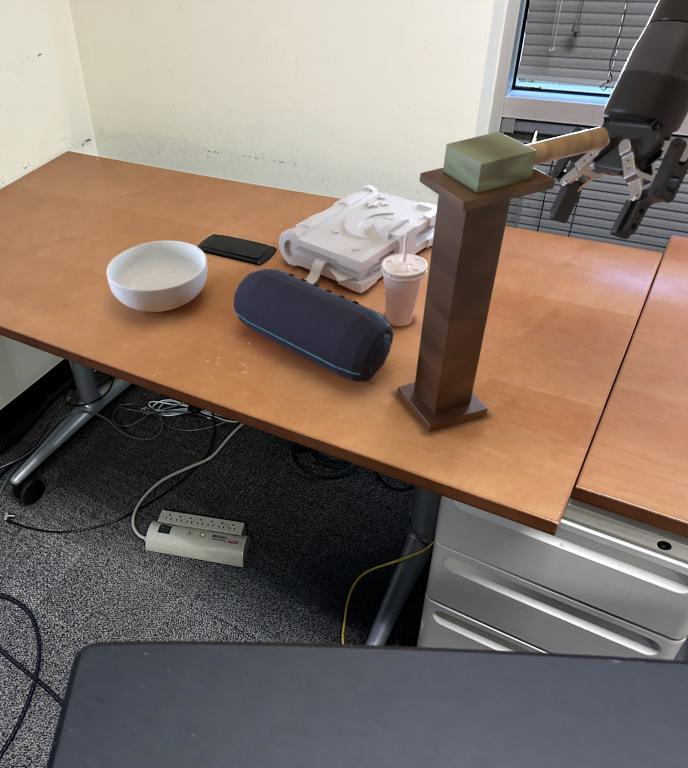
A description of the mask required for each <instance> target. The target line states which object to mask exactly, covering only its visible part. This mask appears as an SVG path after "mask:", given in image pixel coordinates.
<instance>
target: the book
mask: <svg viewBox="0 0 688 768" xmlns="http://www.w3.org/2000/svg"><path fill="white" fill-rule="evenodd" d="M436 212H437V204H433V203H429V202H426V201H425V202H424V201H421V202H419V201H414V200H412V199H409V198H404V197H400V196H398V195H393V194H391V193H387V192H383V191H379V189H377V188H376V187H375V186H373V185H370V184H365V185H362V186H360V187H359V188H357V189H356V191H355V192H352V193H349V194H347V195H345V196H344V197H342V198H340V199H338V200H337V201H334V202H333V204H332V206H330V207H328V208H325V210H323V211H321V212H317V213H314V214H312V215H310V216H309V217H307V218H305V219H304V220H302V221H300V222H298V223H296V225H295V226H294V227H291V228H290V227H289V228H288V229H285V230H283V231H282V232H281V233H280V235H279V238H278V249H279V251H280V254H281V257H282V258H283V259H284V261H285V262H286V263H287V264H288V265H291V266H294V267H297V266H298V267H302V268H304V269H307V270H309V274H308V275H307V276H306V278H305V279H306V280H307V282H309V283H311V284H313V285H314V284H317V282H318V281H319V279H320V277H321V276H323V277H325V278H328V279H331V280H333V281H335V282H337V284H338V285H340V286H342V287H345V288H346V289H349V290H350V291H352V292H356V293H359V294H362V293H364V292H365V291H367V290H369V289H370V288H371V287H373V286H374V285H375V284H377V283H378V280H379V279H380V278H382V277H384V275H383V274H382V272H381V267H382V262H383V260H384V259H385V258H387V257H389V256H391V255H395V254H402V253H403V245H404V235H405V234H408V235H409V236H408V246H407V254H414V255H416V254H417V253H419V252H421V251H422V250H423V249H425V248H426V249H427V248H429V247H432V244H433V236H434V228H435V220H436Z"/></svg>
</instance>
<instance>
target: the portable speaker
mask: <svg viewBox="0 0 688 768" xmlns="http://www.w3.org/2000/svg"><path fill="white" fill-rule="evenodd" d="M232 305H233V309H234V312H235V314H236V316H237V318H238V319H239V321H240V322H241V323H242V324H243V325H245V326H246V327H248V328H249V329H250V330H252V331H253V332H255V333H257V334H259V335H260V336H262V337H264V338H266V339H268V340H270V341H272V342H274V343H275V344H278V345H279V346H281V347H283V348H285V349H287V350H289V351H291V352H293V353H295V354H297V355H299V356H301V357H302V358H304V359H306V360H308V361H310V362H312V363H314V364H316V365H318V366H319V367H321V368H323V369H326V370H327V371H329V372H331V373H333V374H334V375H337V376H339V377H340V378H342V379H343V378H344V379H346V380H349V381H353V382H354V383H355V382H356V383H366V382H369V381H370V380H371V379H373V378H374V377H375V375H376V374H377V373H378V372H379V371H380V369H381V368H382V367H383V366H385V364H386V361H387V359H388V356H389V354H390V352H391V348H392V344H393V341H394V329H393V327H392V325H391V324H389V322H388V321H387V319H386V316H384V315H382V314H381V313H380V312H379V311H377V310H374V309H372V308H369V307H368V306H365V305H362V304H360V302H359V301H358V300H357V301H356V300H351V299H348V298H346V296H345V295H343V294H337V293H334V292H333V290H331V289H328V288H326V289H325V288H322V287H321V286H320V285H319V284H318V283H315V284H314V285H313V284H311V283H309V282H307V280H306V278H302V277H301V278H299V277H297V276H296V275H295V274H294V273H292V272H290V273H288V272H287V271H283V270H280V269H278V268H275V269H273V268H271V269H270V268H264V269H258V270H254V271H252V272H250V273H248V274H247V275H246V276H245V277H243V278H242V280H241V281H240V282H239V284H238V285H237V288H236V290H235V292H234V295H233V303H232Z"/></svg>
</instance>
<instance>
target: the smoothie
mask: <svg viewBox="0 0 688 768" xmlns="http://www.w3.org/2000/svg"><path fill="white" fill-rule="evenodd" d="M408 236H409V235H408V234H405V235H404V245H403V253H402V254H395V255H391V256H389V257H387V258H385V259H384V260H383V262H382V267H381V272H382V274H383V288H384V303H385V305H384V306H385V318H386V319H387V321H388V322H389V324H390V326H394V327H404V326H408V325H410V324H411V322H412V320H413V317H414V314H415V310H416V306H417V302H418V298H419V295H420V291H421V287H422V284H423V280H424V277H425V276H426V275H427V273H428V261H426V259H425V258H423V257H422V256H420V255H416V254H407V246H408Z"/></svg>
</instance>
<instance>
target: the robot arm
mask: <svg viewBox="0 0 688 768" xmlns="http://www.w3.org/2000/svg"><path fill="white" fill-rule="evenodd" d="M602 115H603V122H602V124H601V126H600V127H604V128H605V129H606V130H607V132H608V135H609V140H608V143H607V145H606V146H605V147H604V148H602V149H598V150H594V151H590V152H586V153H582V154H578V155H574V156H570V157H566V158H562V159H558V160H556V163H555V164H554V167H553V168H552V170H551V173H550V177H552V178H554V179H555V181H557V182H558V183H559V185H560V189H559V191H558V192H557V194H556V197H555V199H554V200H553V203H552V205H551V208H550V211H549V219H550V220H552V221H555V222H557V223H558V222H559V223H561V224H566V223H568V222H569V219H570V217H571V215H572V213H573V211H574V209H575V206H576V204H577V203H578V200H579V198H580V196H581V194H582V192H579V191H581V190H582V189H583V188H585V187H586V186H587V185H589V184H590V183H591V182H593V181H594V180H599V179H600V178H602V177H603V176H604V175H607V176H611V177H615V176H618V177H622V178H623V179H624V181H625V182H626V183H627V186H628V187H627V188H628V195H629V199H630V200H628V199H626V200H625V202H624V203H623V206H622V208H621V209H620V211H619V213H618V216H617V217H616V219H615V221H614V223H613V225H612V227H611V229H610V232H609V233H610V235H611V236H613V237H616V238H619V239H622V240H629V239H630V237H631V236H633V235H634V234H635V233H636V232H637V231H638V229H639V227H640V225H641V223H642V221H643V219H644V218H645V215H646V213H647V212H648V209H649V208H650V207H651V206H653V205H655V204H659V203H665V204H669V203H671V202H673V201H675V198H676V196H677V194H678V192H679V190H680V187H682V186H681V185H682V183H683V181H684V180H685V177H686V175H687V173H688V140H686V139H684V138H683V137H680V136H678V137H675V138H673V139H672V140H671V138H672V135H673V134H674V133H677V132H678V131H679V130H680V129H681V128H682V125H683V123H684V121H685V119H686V117H687V115H688V0H658V1H657V3H656V5H655V7H654V9H653V11H652V14H651V16H650V18H649V20H648V22H647V24H646V25H645V28H644V30H643V31H642V33H641V35H640V36H639V38H638V39H637V40H636V43H635V44H634V46H633V47H632V50H631V51H630V54H629V56H628V58H627V60H626V62H625V63H624V66H623V68H622V70H621V72H620V74H619V77H618V78H617V81H616V83H615V85H614V87H613V89H612V91H611V93H610V95H609V98H608V100H607V102H606V104H605V106H604V108H603V109H602ZM585 130H588V129H586V128H583V127H581V126H576V127H574V129H573V130H572V131H571V134H572V133H576V132H580V131H585ZM660 158H661V159H662V160H661V163H660V164H659V167H658V169H657V172H656V166H655V163H656V162H657V161H658V160H659V159H660ZM568 164H569V165H568ZM592 164H593V165H592Z"/></svg>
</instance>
